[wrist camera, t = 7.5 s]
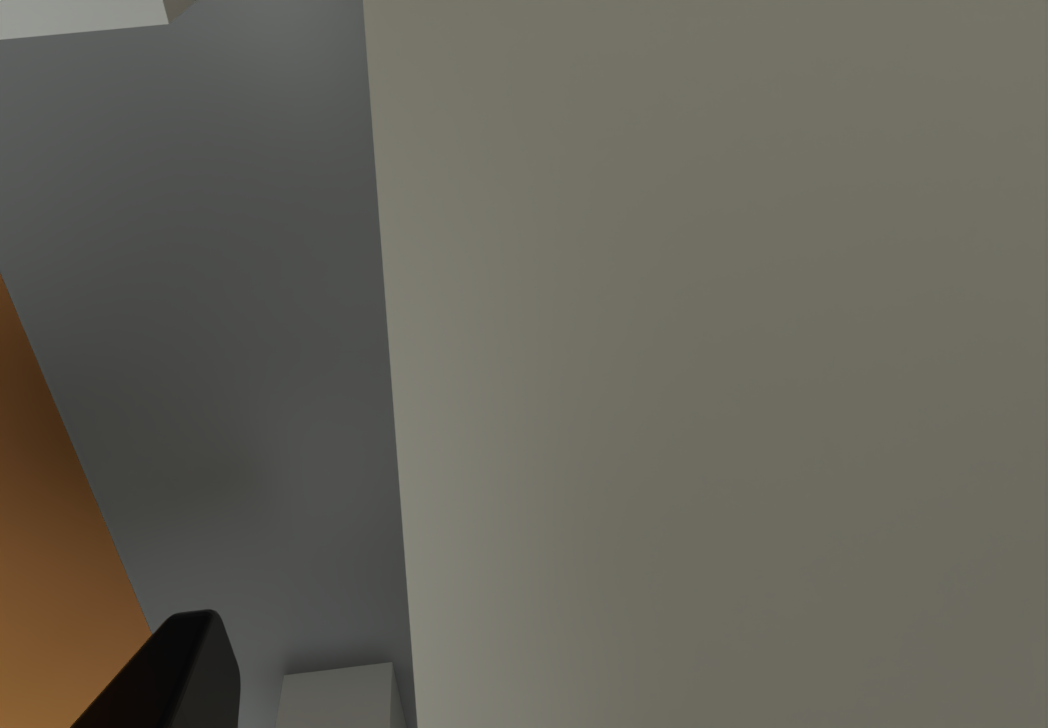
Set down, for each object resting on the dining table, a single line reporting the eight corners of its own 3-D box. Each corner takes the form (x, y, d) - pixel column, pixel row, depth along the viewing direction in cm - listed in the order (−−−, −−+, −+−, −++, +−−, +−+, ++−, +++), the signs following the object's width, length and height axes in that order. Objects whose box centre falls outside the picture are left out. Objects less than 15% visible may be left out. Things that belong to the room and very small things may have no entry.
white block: (750, 780, 15) (880, 1169, 11) (445, 805, 14) (454, 1219, 10) (1073, -576, 6) (2287, -1296, 2) (370, -616, 6) (244, -1581, 2)
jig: (976, 751, 17) (1094, 954, 14) (272, 843, 16) (238, 1074, 13) (1543, -1058, 6) (2576, -1860, 3) (-426, -964, 6) (-1371, -1818, 3)
